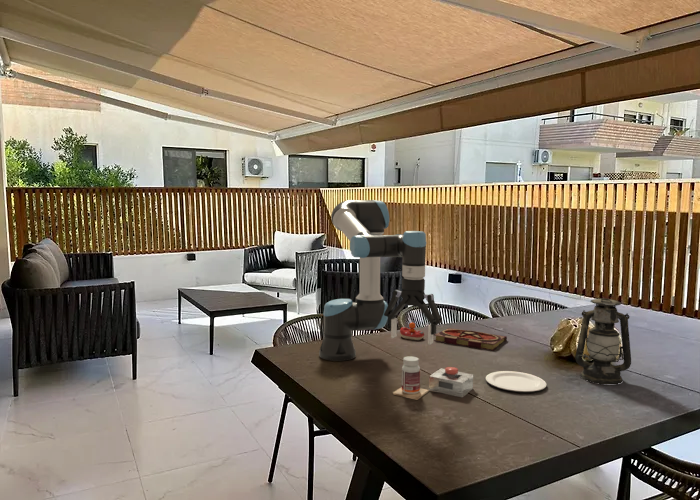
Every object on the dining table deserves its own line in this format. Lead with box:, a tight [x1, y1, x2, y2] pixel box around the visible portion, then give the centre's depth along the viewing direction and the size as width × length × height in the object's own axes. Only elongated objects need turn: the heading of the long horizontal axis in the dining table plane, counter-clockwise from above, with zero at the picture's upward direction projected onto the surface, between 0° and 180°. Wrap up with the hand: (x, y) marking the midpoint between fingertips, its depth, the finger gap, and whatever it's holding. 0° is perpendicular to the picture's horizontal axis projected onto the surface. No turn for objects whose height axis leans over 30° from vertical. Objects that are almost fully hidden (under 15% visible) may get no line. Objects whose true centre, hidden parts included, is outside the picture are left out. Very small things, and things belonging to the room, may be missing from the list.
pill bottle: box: [401, 355, 421, 394], centre depth 176 cm, size 6×6×11 cm
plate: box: [485, 370, 548, 393], centre depth 186 cm, size 21×21×2 cm
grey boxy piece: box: [428, 367, 474, 398], centre depth 180 cm, size 12×10×5 cm
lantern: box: [574, 298, 632, 385], centre depth 189 cm, size 19×19×30 cm
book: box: [433, 327, 508, 352], centre depth 243 cm, size 28×21×5 cm
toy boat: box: [399, 321, 425, 341], centre depth 247 cm, size 8×12×8 cm, turn 58°
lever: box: [444, 366, 459, 378], centre depth 180 cm, size 4×4×6 cm
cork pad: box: [392, 386, 430, 401], centre depth 176 cm, size 9×9×1 cm
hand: (411, 340), depth 174 cm, fingers open, 13 cm apart
